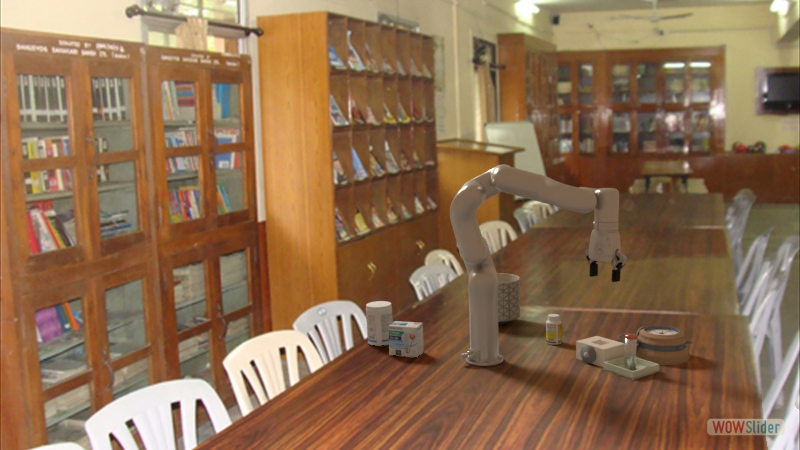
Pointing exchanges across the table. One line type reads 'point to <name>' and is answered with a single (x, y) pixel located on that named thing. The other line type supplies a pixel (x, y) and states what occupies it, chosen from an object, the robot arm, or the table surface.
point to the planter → (508, 298)
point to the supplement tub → (378, 322)
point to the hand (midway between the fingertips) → (604, 278)
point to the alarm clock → (661, 345)
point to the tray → (641, 370)
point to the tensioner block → (599, 350)
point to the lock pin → (630, 351)
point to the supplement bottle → (553, 330)
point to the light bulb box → (406, 339)
